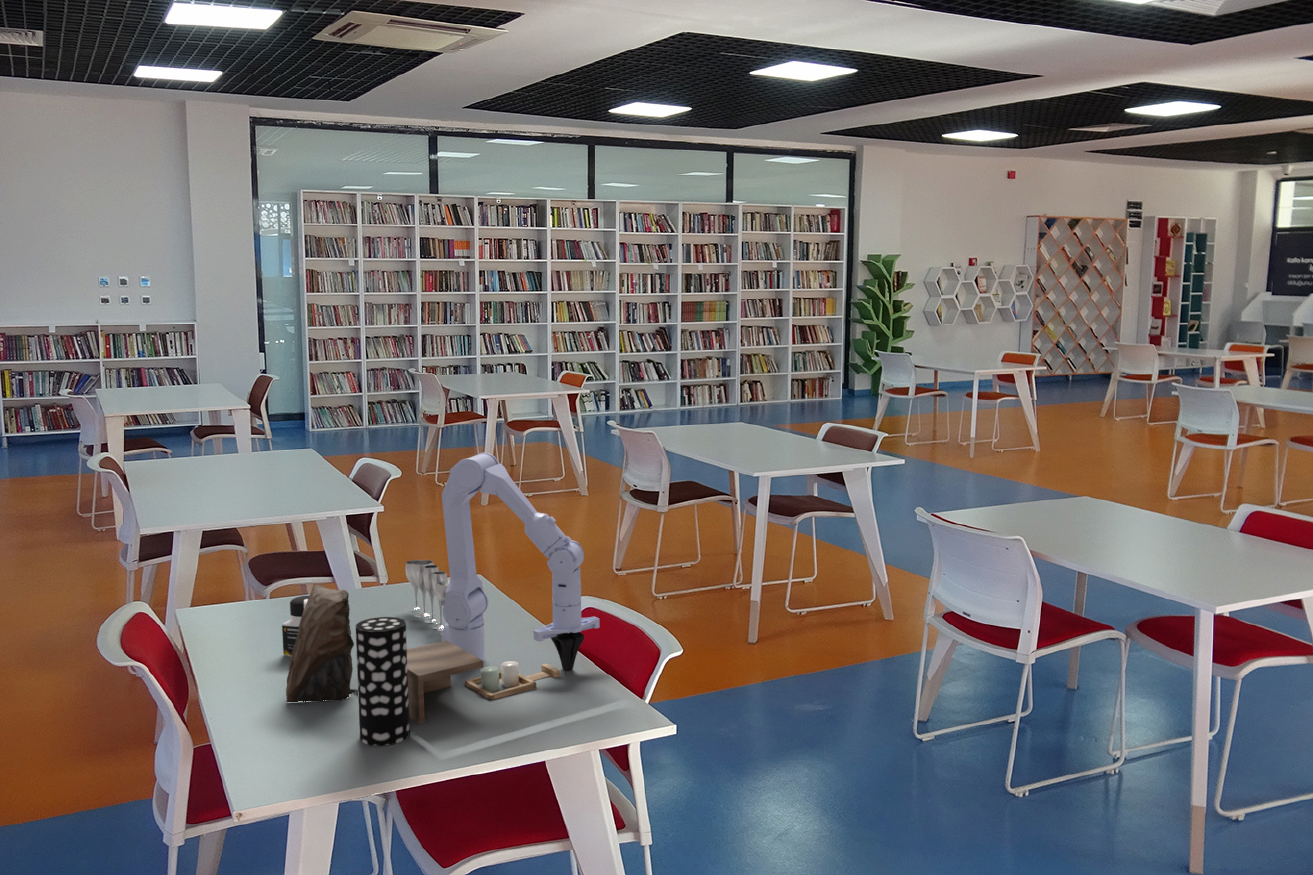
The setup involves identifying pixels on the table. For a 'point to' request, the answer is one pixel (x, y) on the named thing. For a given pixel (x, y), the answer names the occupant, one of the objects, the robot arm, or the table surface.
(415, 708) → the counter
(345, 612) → the brown rock
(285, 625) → the medicine bottle
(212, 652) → the table surface
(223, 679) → the table surface
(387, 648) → the white-spotted black cylinder
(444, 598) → the goblet set
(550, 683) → the table surface
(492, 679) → the grey-green round cylinder
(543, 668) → the oak tray
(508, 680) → the off-white round cylinder
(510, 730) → the table surface
